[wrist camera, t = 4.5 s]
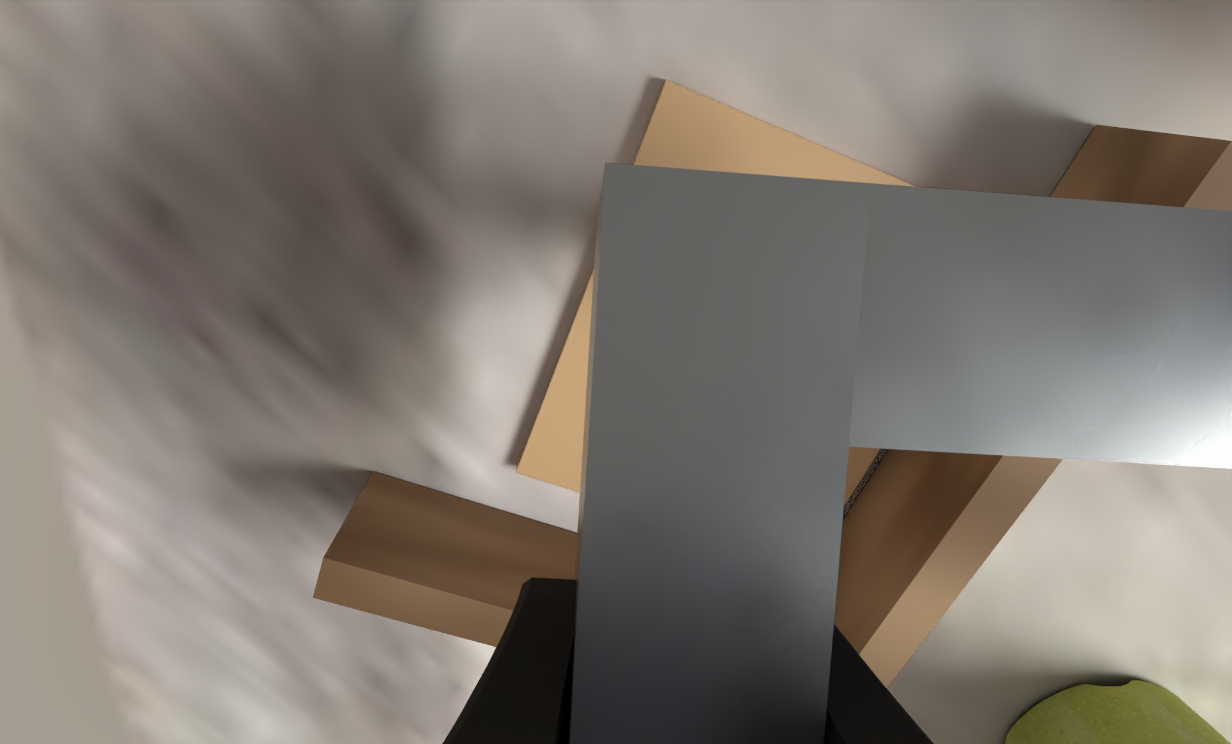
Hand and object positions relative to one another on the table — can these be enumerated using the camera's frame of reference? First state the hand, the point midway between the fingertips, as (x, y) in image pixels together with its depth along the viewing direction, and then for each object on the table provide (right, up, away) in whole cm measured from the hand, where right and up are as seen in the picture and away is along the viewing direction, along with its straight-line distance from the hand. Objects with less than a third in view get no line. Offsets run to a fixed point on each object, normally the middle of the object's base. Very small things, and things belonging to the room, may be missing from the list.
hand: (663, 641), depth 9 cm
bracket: (+2, +2, +2) cm, 3 cm away
